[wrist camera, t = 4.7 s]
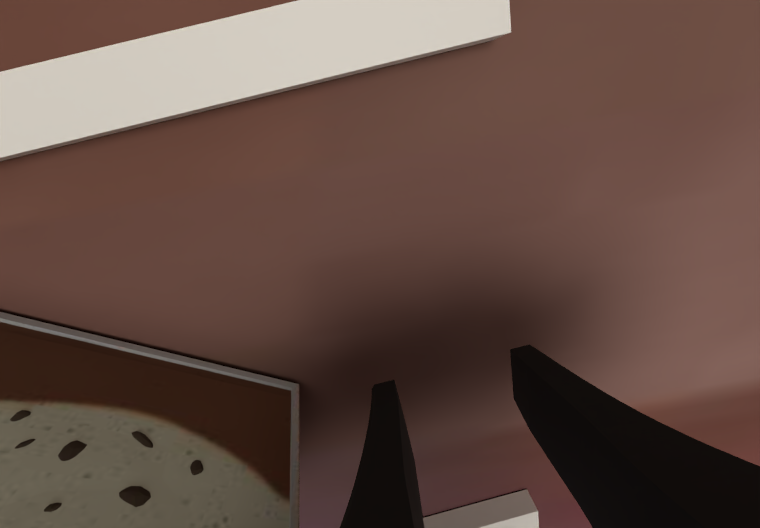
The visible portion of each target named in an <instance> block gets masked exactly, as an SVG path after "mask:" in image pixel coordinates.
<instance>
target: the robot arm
mask: <svg viewBox="0 0 760 528" xmlns="http://www.w3.org/2000/svg"><path fill="white" fill-rule="evenodd" d="M510 353H511V366H512V380H513V393H514V400H515V402H516V404H517V406H518V408H519V410H520V412H521V414H522V416H523V418H524V420H525V421H526V423H527V425H528V427H529V429H530V431H531V432H532V434H533V436H534V437H535V439H536V440H537V442H538V443H539V445H540V446H541V448H542V449H543V451H544V452H545V454H546V455H547V457H548V459H549V460H550V462H551V463H552V465H553V466H554V468H555V469H556V471H557V472H558V474H559V475H560V477H561V478H562V480H563V481H564V483H565V484H566V486H567V487H568V489H569V490H570V492H571V493H572V495H573V496H574V498H575V499H576V501H577V502H578V504H579V506H580V507H581V509H582V510H583V512H584V514H585V515H586V517H587V519H588V520H589V522H590V524H591V525H592V527H593V528H760V466H758V465H755V464H752V463H750V462H747V461H745V460H743V459H740V458H738V457H735V456H733V455H731V454H728V453H726V452H724V451H721V450H719V449H716V448H714V447H712V446H709V445H707V444H705V443H703V442H700V441H698V440H696V439H694V438H691V437H689V436H687V435H685V434H683V433H681V432H679V431H677V430H675V429H673V428H670V427H668V426H666V425H664V424H662V423H660V422H658V421H656V420H654V419H652V418H650V417H648V416H646V415H644V414H642V413H640V412H639V411H637V410H635V409H633V408H631V407H630V406H628V405H626V404H624V403H622V402H620V401H619V400H617V399H615V398H613V397H612V396H610V395H608V394H607V393H605V392H603V391H601V390H600V389H598V388H597V387H595V386H593V385H592V384H590V383H588V382H587V381H585V380H583V379H582V378H580V377H579V376H577V375H575V374H574V373H572V372H571V371H569V370H568V369H566V368H565V367H563V366H561V365H560V364H558V363H557V362H555V361H554V360H552V359H551V358H549V357H548V356H546V355H545V354H543V353H542V352H540V351H539V350H537V349H536V348H534V347H532V346H531V345H526V346H522V347H518V348H515V349H511V350H510ZM340 528H424V522H423V515H422V508H421V501H420V495H419V488H418V481H417V474H416V467H415V461H414V456H413V452H412V448H411V444H410V440H409V435H408V431H407V427H406V423H405V419H404V415H403V412H402V408H401V404H400V400H399V396H398V393H397V389H396V385H395V381H394V380H391V381H387V382H383V383H380V384H376V385H374V386H373V388H372V400H371V410H370V417H369V423H368V429H367V434H366V439H365V444H364V449H363V453H362V457H361V461H360V465H359V468H358V472H357V476H356V480H355V483H354V487H353V490H352V493H351V497H350V500H349V503H348V506H347V509H346V512H345V515H344V518H343V521H342V523H341V526H340Z"/></svg>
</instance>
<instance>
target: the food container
mask: <svg viewBox="0 0 760 528" xmlns="http://www.w3.org/2000/svg"><path fill="white" fill-rule="evenodd" d="M0 528H299V384H296V383H292V382H288V381H284V380H279V379H275V378H271V377H267V376H263V375H259V374H255V373H251V372H246V371H242V370H238V369H234V368H230V367H226V366H222V365H218V364H213V363H209V362H205V361H201V360H197V359H193V358H189V357H185V356H180V355H176V354H172V353H168V352H164V351H160V350H156V349H152V348H147V347H143V346H139V345H135V344H131V343H127V342H123V341H119V340H114V339H110V338H106V337H102V336H98V335H94V334H90V333H86V332H81V331H77V330H73V329H69V328H65V327H61V326H57V325H53V324H48V323H44V322H40V321H36V320H32V319H28V318H24V317H20V316H15V315H11V314H7V313H3V312H0Z"/></svg>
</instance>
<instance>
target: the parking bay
mask: <svg viewBox="0 0 760 528" xmlns="http://www.w3.org/2000/svg"><path fill="white" fill-rule="evenodd" d="M508 33H511V22H510V5H509V0H298V1H294V2H290V3H285V4H281V5H277V6H273V7H269V8H265V9H260V10H256V11H252V12H248V13H244V14H240V15H235V16H231V17H227V18H223V19H219V20H215V21H210V22H206V23H202V24H198V25H194V26H190V27H185V28H181V29H177V30H173V31H169V32H165V33H160V34H156V35H152V36H148V37H144V38H140V39H135V40H131V41H127V42H123V43H119V44H115V45H110V46H106V47H102V48H98V49H94V50H90V51H85V52H81V53H77V54H73V55H69V56H65V57H60V58H56V59H52V60H48V61H44V62H40V63H36V64H31V65H27V66H23V67H19V68H15V69H11V70H6V71H2V72H0V161H4V160H8V159H12V158H16V157H20V156H24V155H28V154H32V153H36V152H40V151H44V150H49V149H53V148H57V147H61V146H65V145H69V144H73V143H77V142H81V141H85V140H89V139H93V138H97V137H101V136H105V135H110V134H114V133H118V132H122V131H126V130H130V129H134V128H138V127H142V126H146V125H150V124H154V123H158V122H162V121H167V120H171V119H175V118H179V117H183V116H187V115H191V114H195V113H199V112H203V111H207V110H211V109H215V108H219V107H223V106H228V105H232V104H236V103H240V102H244V101H248V100H252V99H256V98H260V97H264V96H268V95H272V94H276V93H280V92H285V91H289V90H293V89H297V88H301V87H305V86H309V85H313V84H317V83H321V82H325V81H329V80H333V79H337V78H341V77H346V76H350V75H354V74H358V73H362V72H366V71H370V70H374V69H378V68H382V67H386V66H390V65H394V64H398V63H402V62H407V61H411V60H415V59H419V58H423V57H427V56H431V55H435V54H439V53H443V52H447V51H451V50H455V49H459V48H464V47H468V46H472V45H476V44H480V43H484V42H488V41H492V40H495V39H497V38H499V37H502V36H504V35H506V34H508ZM423 522H424V528H539V520H538V510H537V508H536V506H535V504H534V502H533V500H532V498H531V496H530V495H529V493H528V491H527V489H526V490H522V491H519V492H515V493H511V494H508V495H504V496H500V497H497V498H493V499H490V500H486V501H482V502H479V503H475V504H472V505H468V506H464V507H461V508H457V509H453V510H450V511H446V512H443V513H439V514H435V515H432V516H428V517H424V518H423Z"/></svg>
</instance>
